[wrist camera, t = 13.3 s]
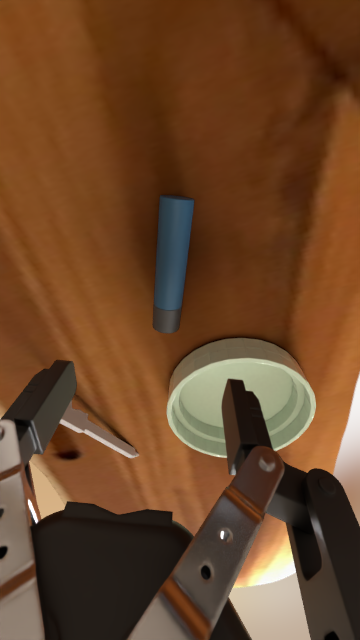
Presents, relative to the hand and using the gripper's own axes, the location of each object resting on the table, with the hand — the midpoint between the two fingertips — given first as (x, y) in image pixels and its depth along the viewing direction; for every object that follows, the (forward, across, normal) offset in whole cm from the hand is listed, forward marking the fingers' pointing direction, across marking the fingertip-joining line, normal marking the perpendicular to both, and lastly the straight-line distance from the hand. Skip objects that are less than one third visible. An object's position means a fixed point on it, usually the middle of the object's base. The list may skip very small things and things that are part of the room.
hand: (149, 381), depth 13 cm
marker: (+17, -1, 0) cm, 17 cm away
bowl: (+17, -11, +17) cm, 27 cm away
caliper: (+18, +9, +27) cm, 34 cm away
